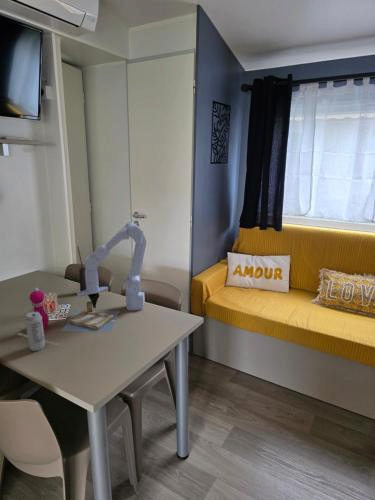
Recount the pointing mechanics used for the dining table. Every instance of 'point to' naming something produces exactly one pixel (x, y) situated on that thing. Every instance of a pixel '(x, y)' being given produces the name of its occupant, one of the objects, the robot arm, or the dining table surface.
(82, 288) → the butter churn
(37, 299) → the pepper mill
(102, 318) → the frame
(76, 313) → the board
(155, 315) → the dining table surface
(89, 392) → the dining table surface
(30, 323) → the energy drink can
